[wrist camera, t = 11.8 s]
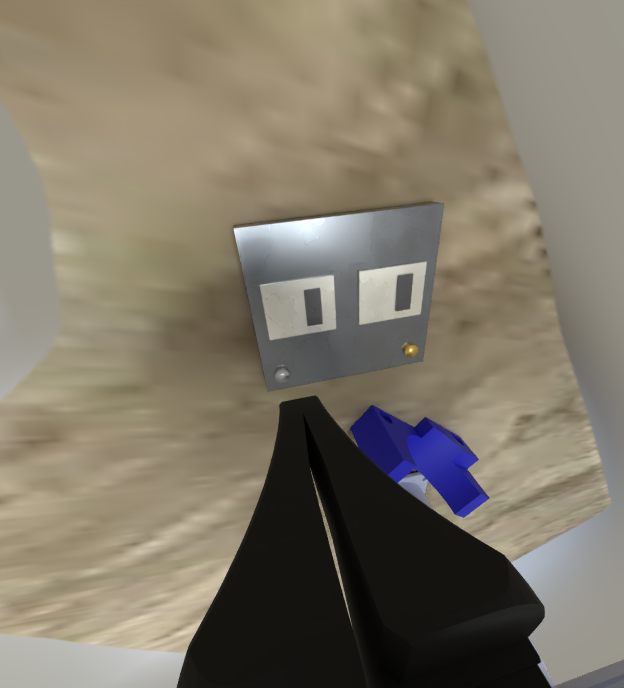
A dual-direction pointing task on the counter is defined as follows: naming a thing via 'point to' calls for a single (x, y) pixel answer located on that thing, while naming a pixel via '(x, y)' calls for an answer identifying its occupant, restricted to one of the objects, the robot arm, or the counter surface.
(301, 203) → the counter surface
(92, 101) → the counter surface
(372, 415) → the cable clip
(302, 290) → the panel
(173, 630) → the counter surface
